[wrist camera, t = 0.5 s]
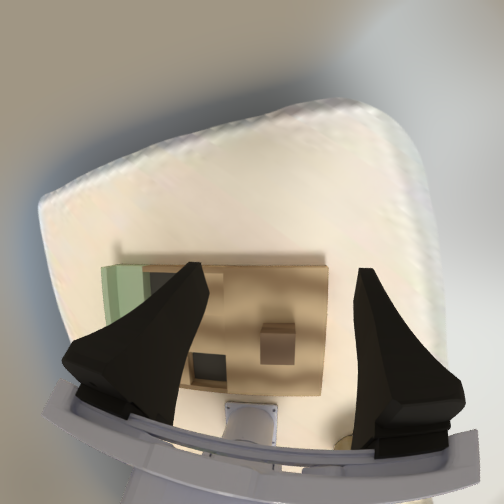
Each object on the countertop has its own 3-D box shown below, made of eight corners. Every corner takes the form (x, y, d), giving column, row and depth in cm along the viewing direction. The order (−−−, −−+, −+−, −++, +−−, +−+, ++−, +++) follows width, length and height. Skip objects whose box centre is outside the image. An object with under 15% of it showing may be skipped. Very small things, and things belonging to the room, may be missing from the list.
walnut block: (294, 352, 35) (294, 365, 31) (263, 351, 36) (260, 364, 32) (295, 323, 35) (295, 333, 31) (263, 322, 35) (260, 333, 31)
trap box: (319, 387, 37) (322, 405, 33) (131, 371, 41) (116, 384, 36) (325, 265, 36) (331, 270, 32) (119, 264, 40) (100, 267, 35)
